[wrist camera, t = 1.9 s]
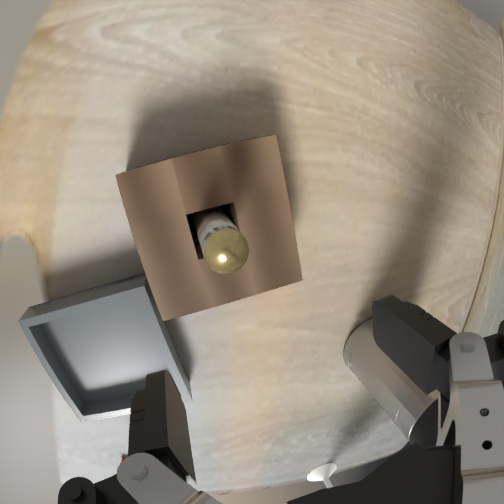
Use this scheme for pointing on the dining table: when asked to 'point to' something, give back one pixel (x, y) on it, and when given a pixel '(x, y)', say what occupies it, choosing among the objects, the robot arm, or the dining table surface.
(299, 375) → the dining table surface
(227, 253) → the pin
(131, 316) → the tray
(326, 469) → the champagne flute
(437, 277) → the dining table surface
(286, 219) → the block
